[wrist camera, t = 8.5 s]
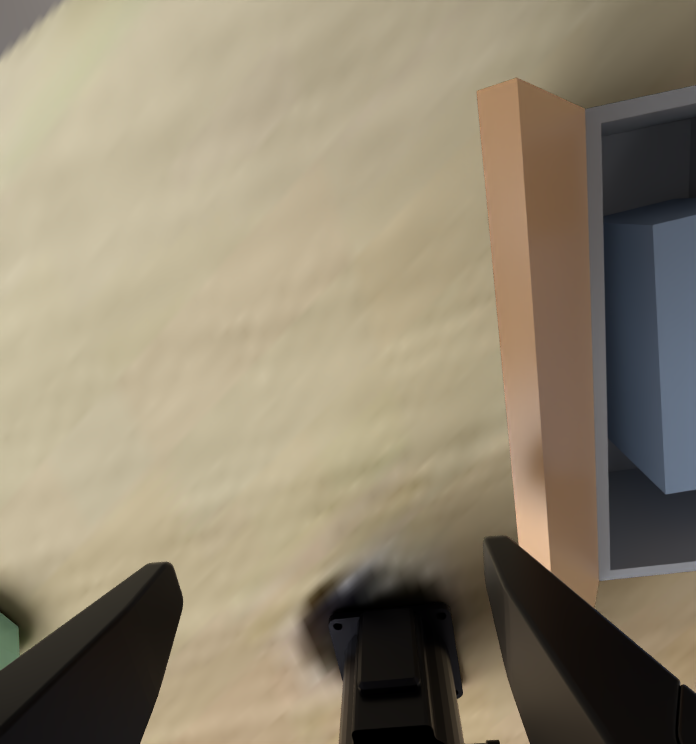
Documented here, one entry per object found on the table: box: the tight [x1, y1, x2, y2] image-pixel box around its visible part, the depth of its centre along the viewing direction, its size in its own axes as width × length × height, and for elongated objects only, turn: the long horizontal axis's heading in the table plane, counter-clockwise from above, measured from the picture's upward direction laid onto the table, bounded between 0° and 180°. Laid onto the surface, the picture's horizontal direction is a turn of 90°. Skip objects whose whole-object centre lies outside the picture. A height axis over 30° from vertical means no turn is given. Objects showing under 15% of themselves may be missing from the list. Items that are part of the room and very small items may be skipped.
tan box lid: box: [477, 78, 599, 608], centre depth 12 cm, size 15×6×1 cm
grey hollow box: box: [585, 85, 696, 581], centre depth 17 cm, size 15×6×6 cm, turn 11°
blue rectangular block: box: [603, 198, 696, 494], centre depth 17 cm, size 9×3×5 cm, turn 14°
